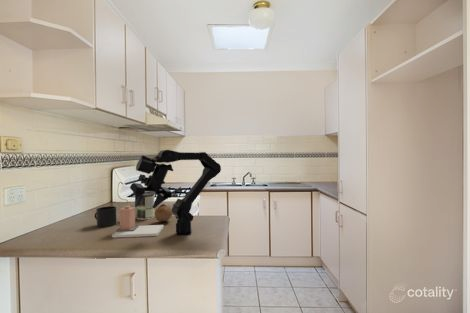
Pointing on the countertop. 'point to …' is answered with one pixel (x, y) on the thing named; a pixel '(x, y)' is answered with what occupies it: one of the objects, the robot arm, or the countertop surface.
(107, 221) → the mug
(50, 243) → the countertop surface
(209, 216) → the countertop surface
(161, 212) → the onion
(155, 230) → the build board
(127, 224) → the pillar
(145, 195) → the coffee can
